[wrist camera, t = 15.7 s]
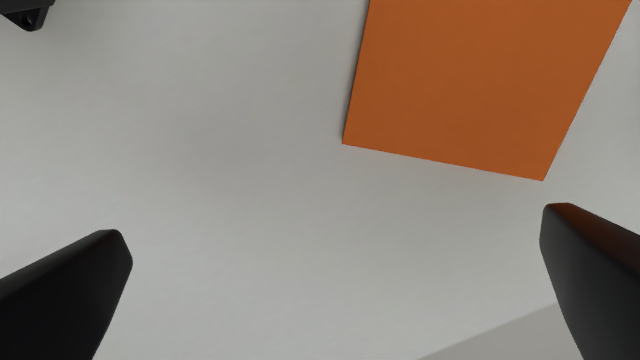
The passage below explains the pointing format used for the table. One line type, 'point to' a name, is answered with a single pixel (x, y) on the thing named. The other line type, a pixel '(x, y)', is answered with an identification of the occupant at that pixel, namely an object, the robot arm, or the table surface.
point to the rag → (477, 78)
